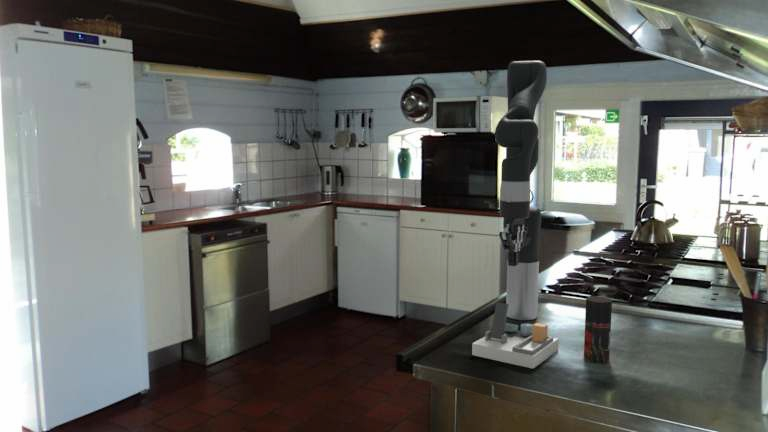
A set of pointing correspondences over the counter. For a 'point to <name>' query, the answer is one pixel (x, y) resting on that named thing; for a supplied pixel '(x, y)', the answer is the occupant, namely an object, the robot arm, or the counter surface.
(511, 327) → the block
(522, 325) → the push button
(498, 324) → the paddle lever
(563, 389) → the counter surface
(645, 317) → the counter surface
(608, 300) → the deodorant
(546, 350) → the panel
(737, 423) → the counter surface
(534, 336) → the slider knob
